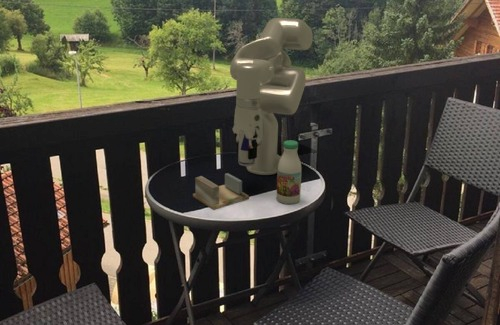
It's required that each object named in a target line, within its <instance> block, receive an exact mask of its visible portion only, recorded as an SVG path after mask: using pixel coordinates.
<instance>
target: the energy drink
mask: <svg viewBox="0 0 500 325" xmlns="http://www.w3.org/2000/svg"><path fill="white" fill-rule="evenodd" d="M253 138H254V136H253ZM252 143H254V140H252ZM248 148H250V146H249V140H248V139H247V138H246V136H245V133H244V131H242V130H239V154H237V155H238V158H237V160H238V161H237V162H238V164H239V165H240V166H242V167H247V166H252V165H253V164H254V162H255V159H251V160H249V159H248Z"/></svg>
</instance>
